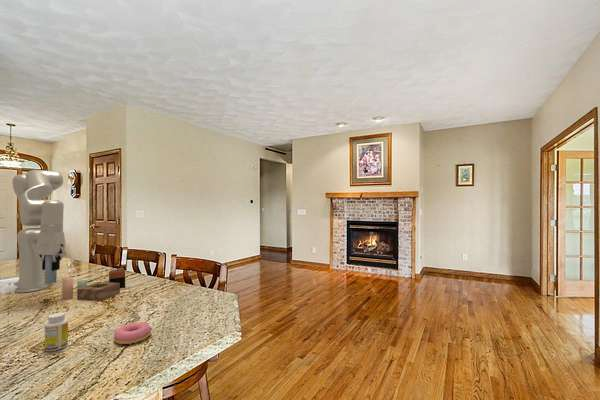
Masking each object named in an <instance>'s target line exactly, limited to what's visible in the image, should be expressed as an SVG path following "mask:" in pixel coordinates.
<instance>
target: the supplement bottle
mask: <svg viewBox="0 0 600 400" xmlns="http://www.w3.org/2000/svg"><path fill="white" fill-rule="evenodd" d="M68 343H69V320H68V318H66V313H65V312H55V313H52V314H50V315H48V317H47V322H46V323H45V324H44V350H45V351H46V352H56V350H57V351H59V349H60V350H62V349H64V348H66V347H67V346H68Z"/></svg>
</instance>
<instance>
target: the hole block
mask: <svg viewBox="0 0 600 400" xmlns="http://www.w3.org/2000/svg"><path fill="white" fill-rule="evenodd" d="M118 294H121V288H120V283H110V282H109V281H107V282H106V281H105V282H104V281H97V282H94V283H91V284H87V286H84V287H81V288H78V289H77V288H76V300H79V301H93V300H95V301H97V302H100V301H101V300H102V301H104V300H106V299H108V298H111V297H113V296H117V295H118Z"/></svg>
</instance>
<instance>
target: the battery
mask: <svg viewBox="0 0 600 400" xmlns="http://www.w3.org/2000/svg"><path fill="white" fill-rule="evenodd" d="M108 282H110V283H120V289H123V288H125V287H126V270H125V269H124V268H123V267H119V268H118V269H111V270H109V271H108Z"/></svg>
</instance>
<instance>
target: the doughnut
mask: <svg viewBox="0 0 600 400" xmlns="http://www.w3.org/2000/svg"><path fill="white" fill-rule="evenodd" d="M151 332H152V327H151V325H150V323H147V322H143V321H141V322H140V321H139V322H137V321H136V322H130V323H127V324H124V325H122V326H120V327H118V328H117V329H116V330H115V331H114V334H113V339H114V342H115V343H116V344H118V345H122V344H129V345H133V344H132V343H134V344H137V343H136V342H138V343H140V342H139V341H141V342H143V341H144V340H146V339H147V338H148V337H149V336H150V335H151ZM142 340H143V341H142Z"/></svg>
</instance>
